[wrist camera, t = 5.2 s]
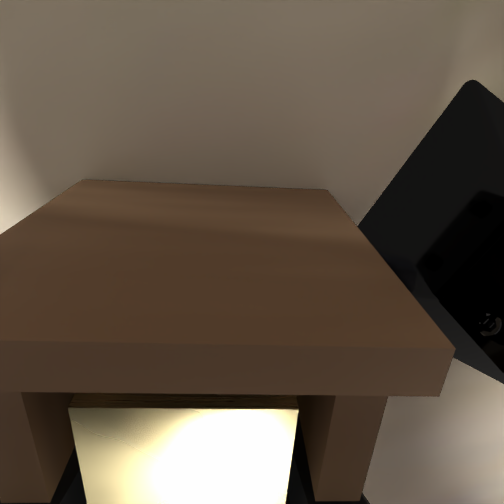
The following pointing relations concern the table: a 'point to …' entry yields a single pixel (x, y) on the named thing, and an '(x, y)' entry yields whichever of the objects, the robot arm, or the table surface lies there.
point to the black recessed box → (452, 226)
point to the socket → (204, 319)
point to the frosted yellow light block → (184, 447)
